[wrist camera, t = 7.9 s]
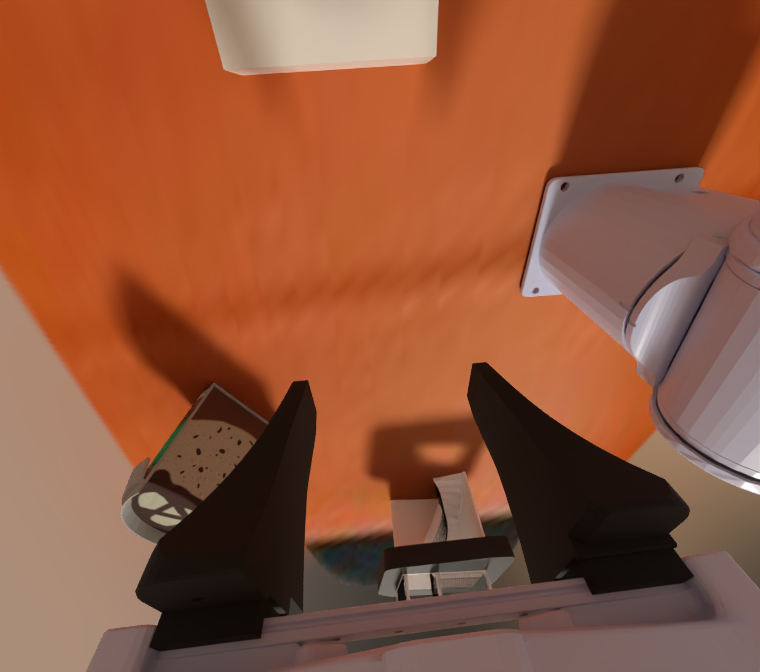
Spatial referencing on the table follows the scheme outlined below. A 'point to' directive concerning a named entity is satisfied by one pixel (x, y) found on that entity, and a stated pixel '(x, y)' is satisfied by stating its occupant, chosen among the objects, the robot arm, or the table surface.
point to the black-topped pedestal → (441, 545)
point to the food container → (190, 463)
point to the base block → (322, 34)
